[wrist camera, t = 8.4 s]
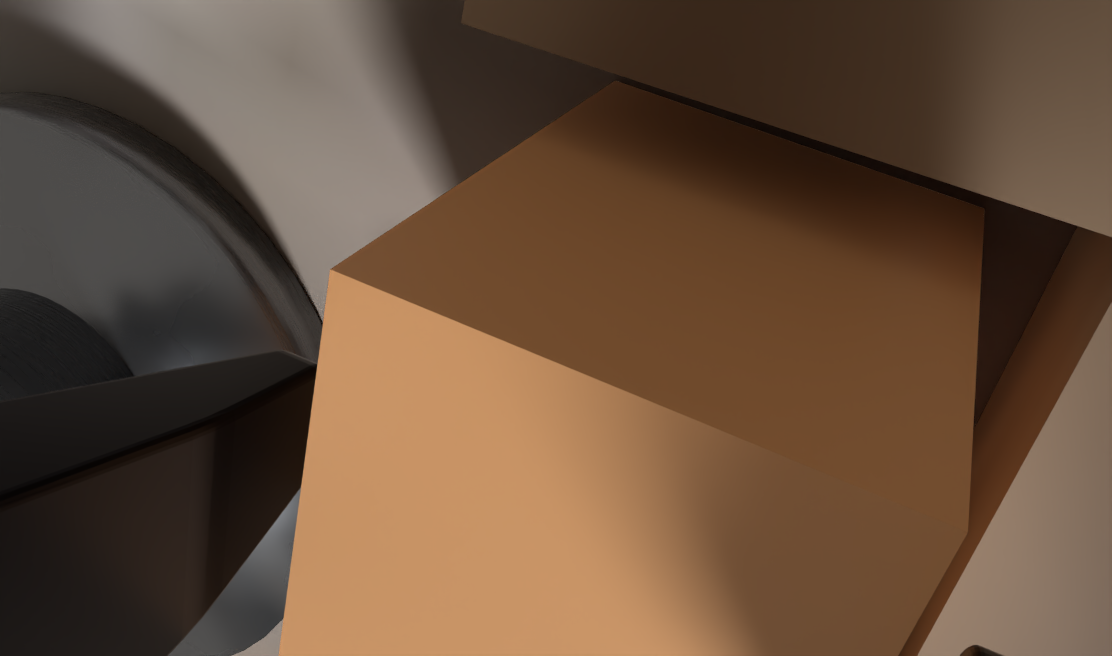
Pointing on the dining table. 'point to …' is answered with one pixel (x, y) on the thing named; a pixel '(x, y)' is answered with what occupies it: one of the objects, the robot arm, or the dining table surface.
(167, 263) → the bobbin
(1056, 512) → the notched board
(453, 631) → the block
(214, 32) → the dining table surface
